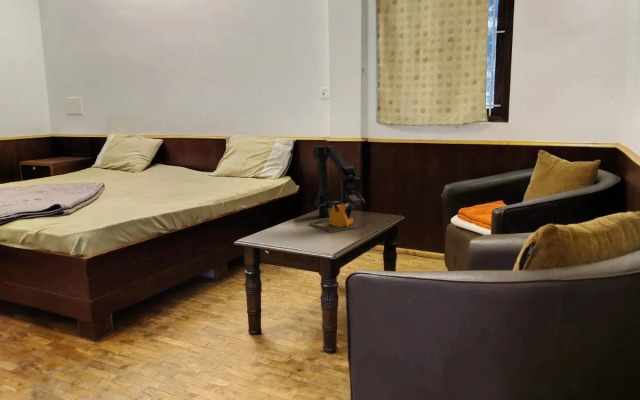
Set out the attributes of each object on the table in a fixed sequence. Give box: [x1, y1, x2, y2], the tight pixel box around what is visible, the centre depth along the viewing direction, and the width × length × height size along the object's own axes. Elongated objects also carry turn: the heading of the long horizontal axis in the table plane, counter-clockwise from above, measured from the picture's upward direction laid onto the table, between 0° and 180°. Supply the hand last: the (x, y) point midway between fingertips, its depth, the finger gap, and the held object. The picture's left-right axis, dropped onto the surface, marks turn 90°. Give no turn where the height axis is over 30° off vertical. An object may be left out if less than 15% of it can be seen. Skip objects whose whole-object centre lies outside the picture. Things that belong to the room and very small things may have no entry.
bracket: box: [328, 201, 354, 228], centre depth 265 cm, size 11×7×12 cm, turn 58°
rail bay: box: [308, 218, 360, 234], centre depth 265 cm, size 21×18×1 cm
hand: (348, 218), depth 269 cm, fingers closed, pressing on bracket
